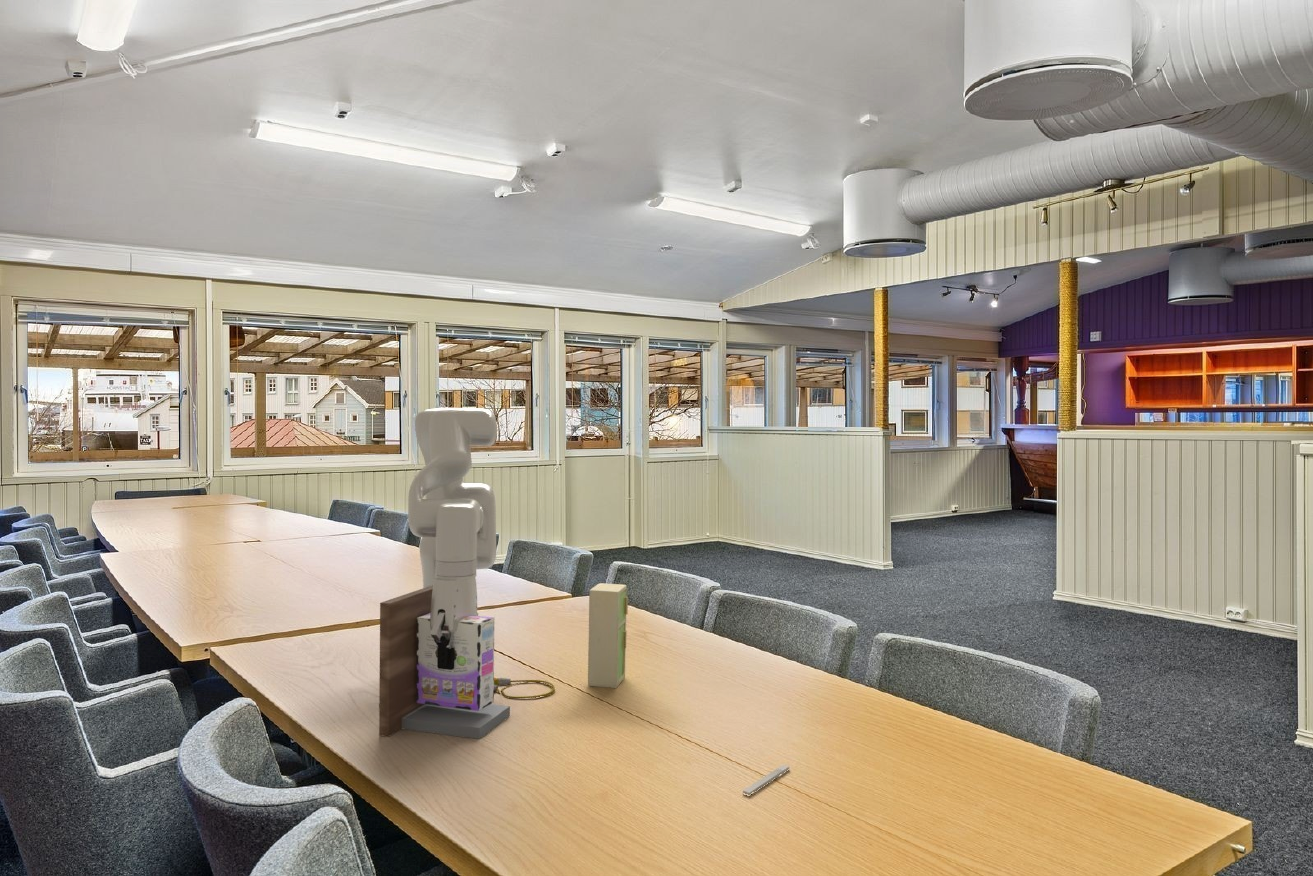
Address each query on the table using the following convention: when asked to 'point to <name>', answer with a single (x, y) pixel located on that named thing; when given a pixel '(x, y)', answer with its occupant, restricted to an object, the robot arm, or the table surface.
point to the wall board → (399, 657)
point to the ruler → (766, 779)
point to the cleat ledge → (456, 720)
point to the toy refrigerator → (607, 634)
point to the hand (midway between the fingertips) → (455, 662)
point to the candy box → (457, 665)
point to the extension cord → (508, 681)
